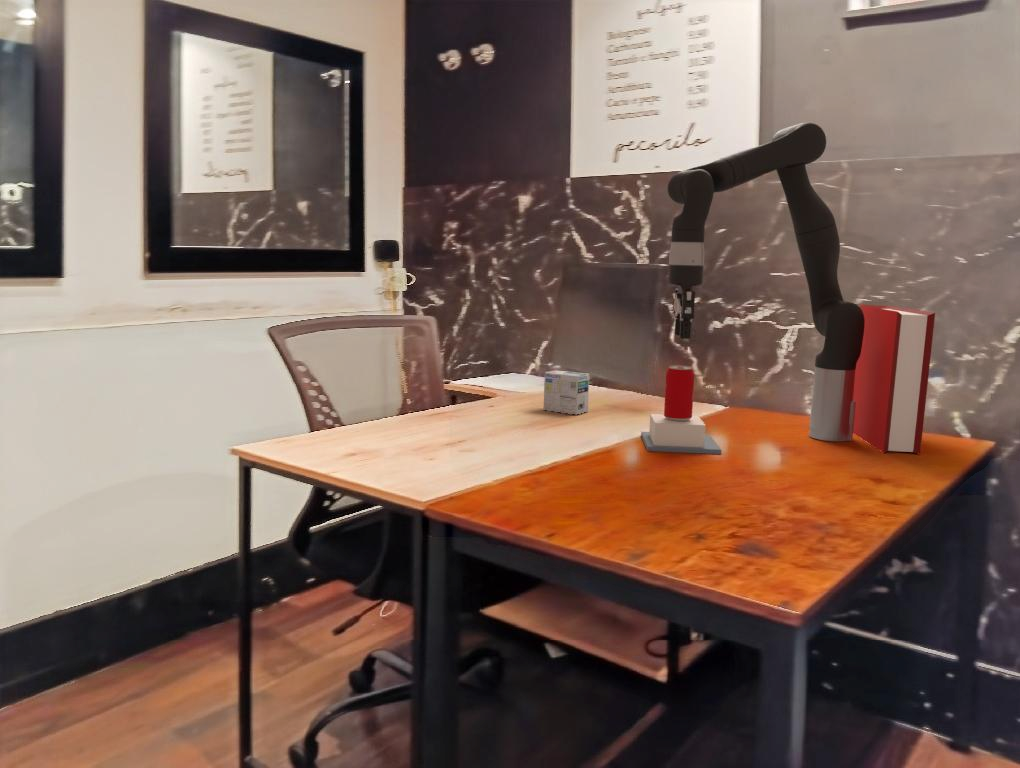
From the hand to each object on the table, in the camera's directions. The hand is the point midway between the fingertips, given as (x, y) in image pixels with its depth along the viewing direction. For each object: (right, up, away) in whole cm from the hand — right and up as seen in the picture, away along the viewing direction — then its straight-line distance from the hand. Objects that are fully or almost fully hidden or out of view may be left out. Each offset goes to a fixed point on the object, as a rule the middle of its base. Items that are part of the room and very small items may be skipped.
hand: (682, 336), depth 187 cm
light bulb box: (-23, -18, +42) cm, 51 cm away
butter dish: (0, -24, +5) cm, 25 cm away
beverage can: (0, -19, +3) cm, 19 cm away
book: (+51, -25, +16) cm, 59 cm away
